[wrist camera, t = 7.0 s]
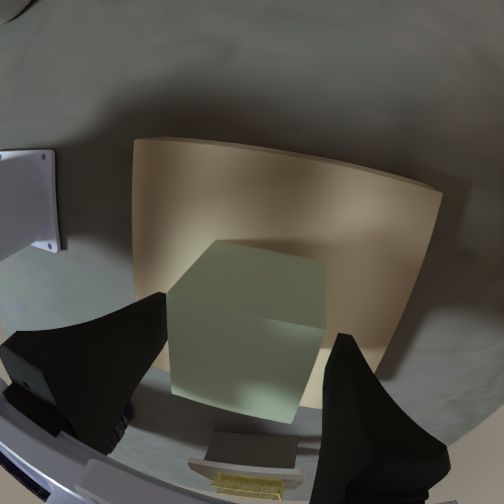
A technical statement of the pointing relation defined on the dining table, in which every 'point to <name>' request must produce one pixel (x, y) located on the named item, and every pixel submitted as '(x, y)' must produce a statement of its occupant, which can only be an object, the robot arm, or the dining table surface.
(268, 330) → the green cube
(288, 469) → the platform
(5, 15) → the cylinder vase
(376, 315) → the birch base
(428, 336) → the dining table surface
